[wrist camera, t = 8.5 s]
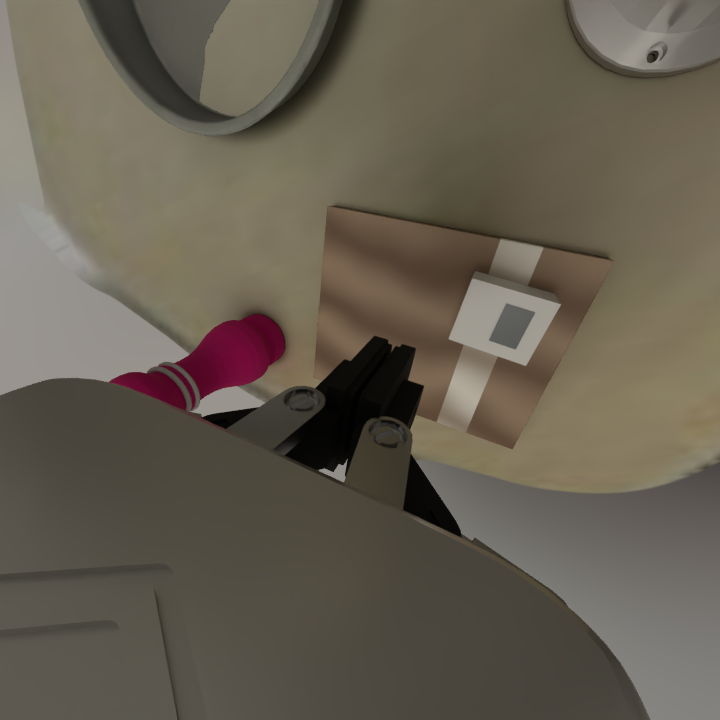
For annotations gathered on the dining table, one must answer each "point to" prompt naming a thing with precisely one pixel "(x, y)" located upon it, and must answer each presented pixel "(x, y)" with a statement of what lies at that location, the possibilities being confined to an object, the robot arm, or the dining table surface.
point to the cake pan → (189, 57)
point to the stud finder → (504, 317)
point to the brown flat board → (445, 312)
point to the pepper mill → (213, 363)
